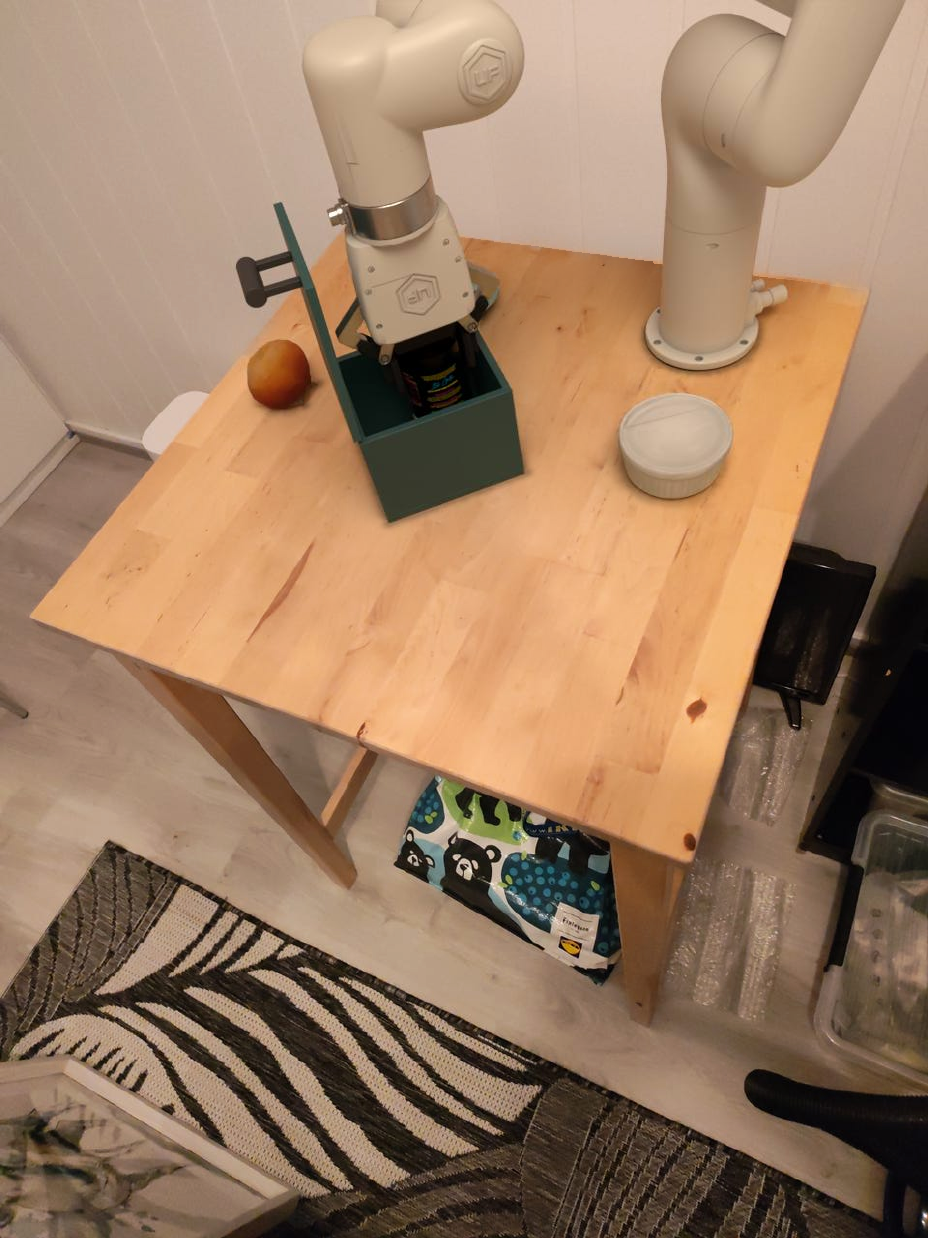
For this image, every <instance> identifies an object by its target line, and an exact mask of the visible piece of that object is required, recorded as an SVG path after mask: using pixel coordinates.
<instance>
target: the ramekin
mask: <svg viewBox="0 0 928 1238" xmlns="http://www.w3.org/2000/svg"><path fill="white" fill-rule="evenodd" d="M617 439H618V440H617V441H618V447H619V450H620V453H621V455H622V460H623V463H624V468H625V469H624V470H625V471H626V473H627V476H628V477H629V479H630V481H631V482H632V483H633V485H634V486H636V487H637V488H638V489H639V490H640V491H642V492H644V493H646V494H648V495H651V496H652V497H656V498H660V499H668V500H669V499H670V500H677V499H683V498H688V497H691V496H694V495H697V494H698V493H701V492H703V491H704V490H706V489H708V487H710V486H711V485H712V483H713V482H714V481H715V480H716V479H717V478H718V476H719V474H720V472H721V469H722V467H723V464H724V462H725V459H726V458H727V456H728V454H729V453H730V451H731V448H732V445H733V441H734V427H733V423H732V420H731V419H730V416H729V415H728V414H727V412H726V411H725V410H724V408H723V407H721V406H720V405H718V403H716V402H714V401H713V400H711V399H709V398H706V397H704V396H700V395H698V394H692V393H687V392H685V393H684V392H667V393H663V394H657V395H654V396H651V397H648V398H646V399H643V400H641V401H639V402H638V403H637V404H635V405H633V406H632V407H631V408H630V409H629V410H628V411H627V412H626V413H625V415H624V416H623V417H622V418H621V421H620V424H619V427H618V434H617Z"/></svg>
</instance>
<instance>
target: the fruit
mask: <svg viewBox="0 0 928 1238" xmlns="http://www.w3.org/2000/svg"><path fill="white" fill-rule="evenodd" d="M246 367H247V368H246V378H247V382H246V383H247V388H248V390H249V393H250V395H251V396H252V399H254V400H255V401H256V402H258V403H260V404H261V405H263V406H264V407H266V408H269V409H273V410H276V409H277V410H286V409H289V408H293V407H294V406H297V405H302V406H304V398H305V395H306V393H307V390H308V388H309V387H311V385H317V383H316V382H313V381H312V375H311V367H310V363H309V360H308V358H307V356H306V354H305V352H304V349H302V348H301V347H300V345H299V344H298V343H295V342H293V341H291V340H289V339H274V340H269V341H267V342H265V343H264V344H263V345H261V347H260V348H259V349H258V350H257V351H256V352H255V353H253V355H251V357H250V358H249V360H248V363H247V366H246Z"/></svg>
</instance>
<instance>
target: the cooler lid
mask: <svg viewBox="0 0 928 1238" xmlns="http://www.w3.org/2000/svg"><path fill="white" fill-rule="evenodd" d="M272 205H273V209H274V212H275V215H276V218H277V221H278V224H279V228H280V231H281V233H282V237H283V240H284V242H285V246H286V249H287V250H286V251H283V252H280V253H277V254H273V255H270V256H266V257H264V258H261V259H257V260H255V259H254V258H252V257H250V256H243V257H240V258H238V260H237V261H236V263H235V270H236V275H237V277H238V281H239V283H240V287H241V290H242V294H243V298H244V301H245V303H246V304H247V305H248V306H249V307H250V308H253V309H260V308H262V307H264V306H265V305H266V303H267V302H268V299H269V298H270V297H271V298H272V297H274V296H278V295H281V294H284V293H288V292H291V291H294V290H297V289H300V293H301V295H302V298H303V302H304V304H305V309H306V311H307V314H308V317H309V320H310V323H311V325H312V326H311V327H312V330H313V332H314V335H315V338H316V341H317V344H318V348H319V351H320V354H321V357H322V360H323V363H324V365H325V369H326V371H327V374H328V376H329V379H330V382H331V384H332V387H333V390H334V393H335V396H336V398H337V401H338V404H339V407H340V409H341V412H342V414H343V416H344V419H345V422H346V426H347V428H348V430H349V433H350V436H351V440H352V442H353V443H354V444H355V443H358V442H359V441H362V439H361V436H360V432H359V429H358V426H357V422H356V419H355V416H354V413H353V409H352V406H351V403H350V400H349V396H348V393H347V390H346V387H345V383H344V380H343V377H342V373H341V370H340V367H339V364H338V360H337V357H338V356H337V354H336V351H335V348H334V344H333V342H332V337H331V334H330V331H329V328H328V324H327V320H326V318H325V315H324V312H323V309H322V305H321V301H320V299H319V296H318V292H317V289H316V286H315V283H314V281H313V278H312V276H311V273H310V271H309V267H308V265H307V263H306V260H305V258H304V257H305V256H304V254H303V253H302V250H301V247H300V245H299V242H298V240H297V237H296V233H295V232H294V229H293V226H292V224H291V221H290V219H289V217H288V214H287V212H286V209H285V206H284V204H283V202H282V201H279V202H275V203H273V204H272ZM287 264H292V268H293V270H294V273H295V276H293V277H289V278H286V279H284V280H283V279H282V280H280V281H276V282H274V283H270V284H267V285H264V282H263V279H262V275H261V273H260V272H264V271H266V270H270V269H273V268H276V267H280V266H283V265H287Z"/></svg>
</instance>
